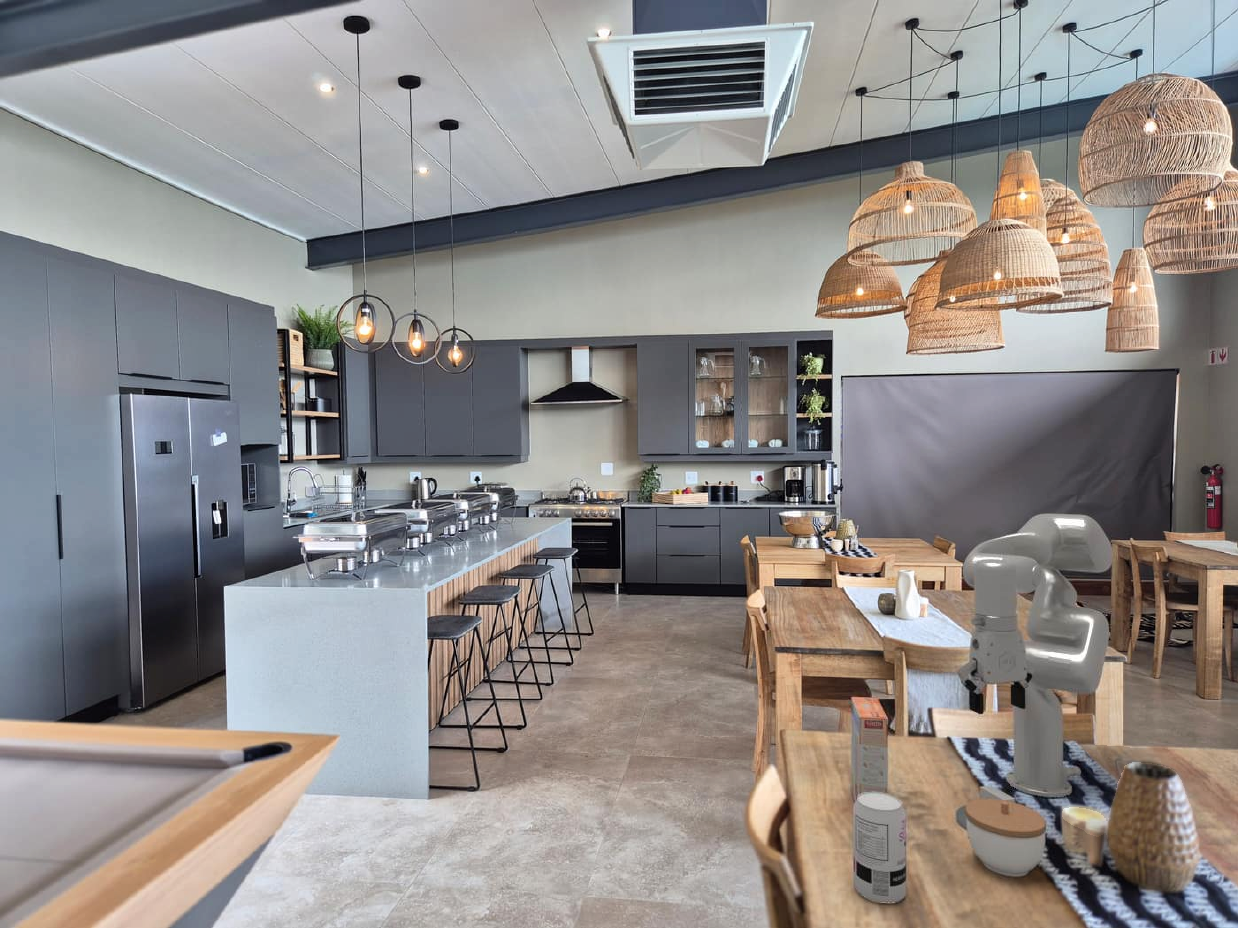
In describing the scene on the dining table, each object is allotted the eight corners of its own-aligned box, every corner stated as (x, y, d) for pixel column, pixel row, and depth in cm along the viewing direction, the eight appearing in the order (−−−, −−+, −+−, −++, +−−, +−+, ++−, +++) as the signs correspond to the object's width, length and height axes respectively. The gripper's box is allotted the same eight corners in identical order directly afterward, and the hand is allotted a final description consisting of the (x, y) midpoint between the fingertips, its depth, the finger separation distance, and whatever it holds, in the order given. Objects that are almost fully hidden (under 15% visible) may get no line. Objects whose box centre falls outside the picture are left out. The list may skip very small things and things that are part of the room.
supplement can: (845, 879, 127) (845, 790, 127) (892, 877, 127) (892, 789, 128) (865, 907, 119) (865, 812, 119) (915, 904, 119) (915, 810, 120)
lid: (1060, 837, 141) (1059, 803, 141) (995, 850, 137) (994, 815, 137) (1000, 803, 156) (999, 772, 156) (939, 814, 152) (938, 782, 152)
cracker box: (889, 824, 147) (889, 717, 147) (857, 821, 148) (857, 715, 148) (879, 794, 160) (879, 696, 161) (850, 792, 162) (849, 695, 162)
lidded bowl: (976, 840, 140) (976, 781, 140) (1053, 863, 132) (1052, 800, 132) (956, 868, 130) (956, 804, 130) (1038, 894, 122) (1037, 826, 122)
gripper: (971, 630, 141) (973, 720, 141) (1047, 623, 145) (1049, 710, 146) (945, 621, 148) (946, 707, 149) (1018, 615, 153) (1019, 699, 153)
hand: (997, 709), depth 147 cm, fingers open, 9 cm apart
